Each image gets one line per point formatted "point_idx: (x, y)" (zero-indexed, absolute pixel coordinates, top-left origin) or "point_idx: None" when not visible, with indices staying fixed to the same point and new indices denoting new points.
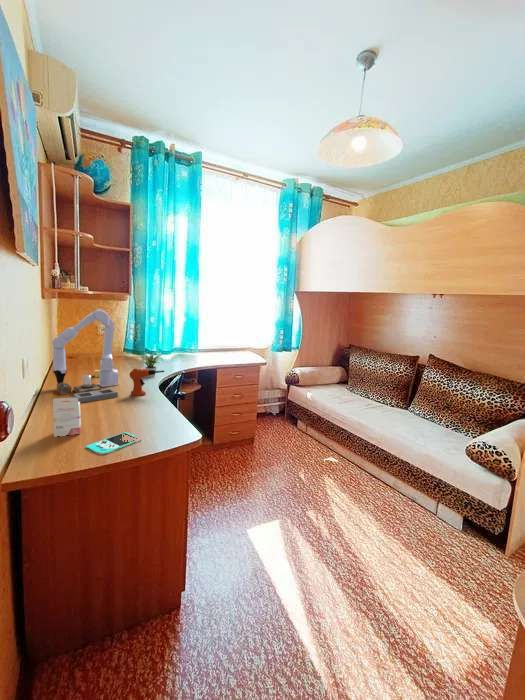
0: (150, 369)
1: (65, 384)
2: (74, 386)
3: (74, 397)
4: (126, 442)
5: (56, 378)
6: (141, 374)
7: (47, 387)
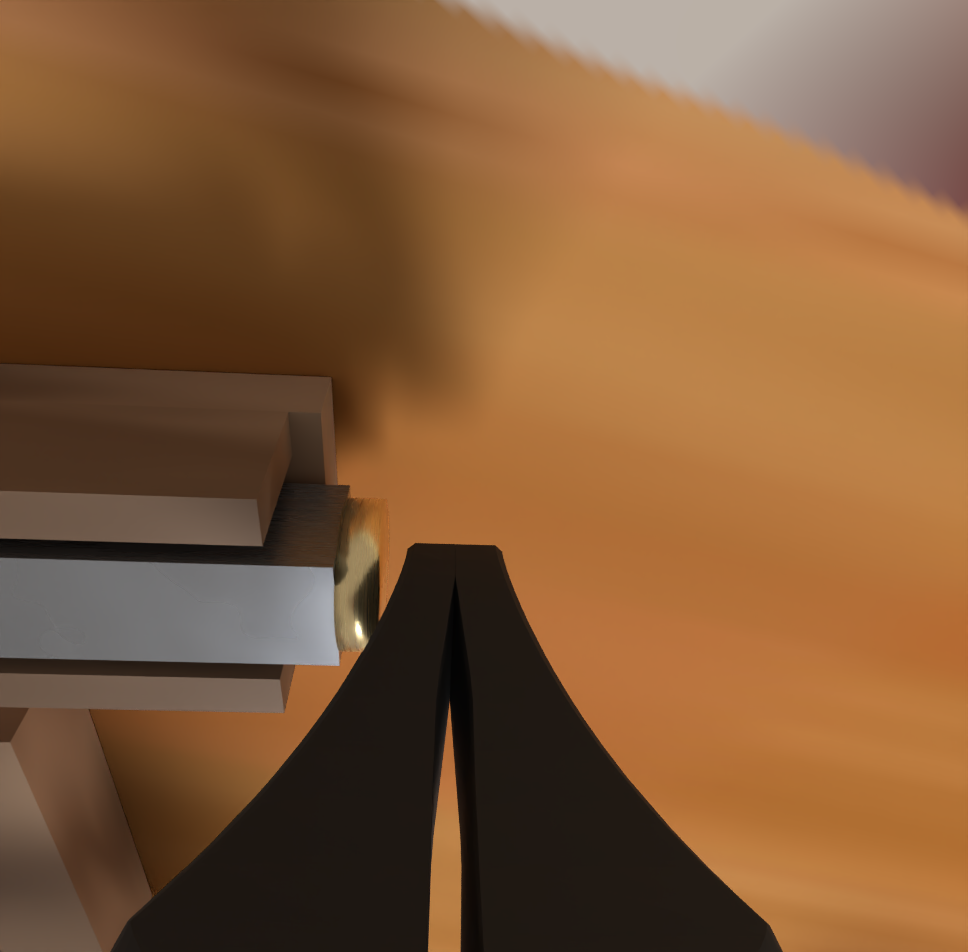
0: None
1: (158, 664)
2: (1, 750)
3: None
4: None
5: (500, 674)
6: None
7: (853, 252)
